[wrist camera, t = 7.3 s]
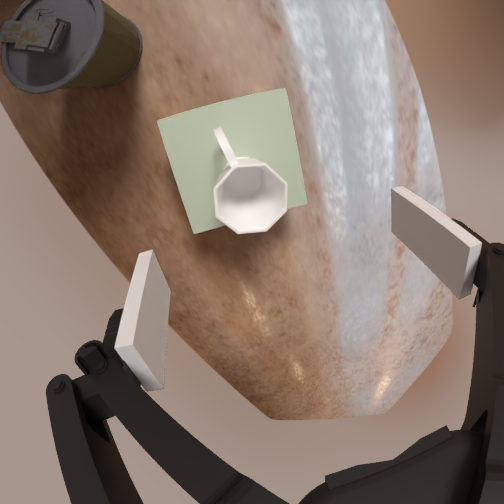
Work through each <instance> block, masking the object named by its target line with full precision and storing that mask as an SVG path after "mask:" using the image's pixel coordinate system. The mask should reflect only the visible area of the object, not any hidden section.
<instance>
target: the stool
mask: <svg viewBox="0 0 504 504" xmlns="http://www.w3.org/2000/svg"><path fill="white" fill-rule="evenodd" d="M157 123H158V126H159V129H160V132H161V136H162V139H163V142H164V145H165V149H166V152H167V155H168V158H169V161H170V164H171V168H172V171H173V174H174V177H175V180H176V183H177V186H178V189H179V192H180V195H181V198H182V201H183V204H184V207H185V210H186V213H187V216H188V219H189V221H190V224H191V227H192V230H193V233H194V234H197V233H200V232H204V231H207V230H211V229H215V228H218V227H222V226H226V225H225V224H224V223H223V222H221V221H220V220H219V219H217V218H216V216H215V204H214V190H213V188H214V185H215V183H216V181H217V178H218V175H219V174H220V173H221V172H222V169H223V168H224V167H225V166H226V165H227V164H228V161H227V159H226V157H225V154H224V152H223V150H222V148H221V146H220V144H219V142H218V140H217V138H216V135H215V133H214V129H216V128H218V127H220V126H221V128H222V130H223V132H224V134H225V136H226V138H227V140H228V142H229V144H230V146H231V148H232V150H233V152H234V154H235V156H236V158H240V157H249V158H250V159H257V160H259V161H261V162H264V163H266V164H267V165H268V166H269V167H270V168H272V169H273V170H274V171H275V172H276V173H277V174H278V175H279V176H280V177H281V178H282V179H283V180H285V181H286V182H287V183H288V184H287V209H289V208H293V207H297V206H301V205H305V204H307V199H306V193H305V187H304V181H303V175H302V169H301V163H300V158H299V152H298V147H297V142H296V136H295V131H294V126H293V121H292V116H291V111H290V106H289V102H288V97H287V92H286V88H281V89H275V90H270V91H265V92H260V93H255V94H251V95H246V96H242V97H238V98H233V99H229V100H225V101H221V102H217V103H214V104H210V105H206V106H202V107H199V108H195V109H192V110H188V111H185V112H182V113H178V114H175V115H172V116H169V117H166V118H163V119H160V120H158V121H157Z"/></svg>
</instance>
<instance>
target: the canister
mask: <svg viewBox="0 0 504 504" xmlns="http://www.w3.org/2000/svg"><path fill="white" fill-rule="evenodd" d="M0 42H2V47H1V61H2V65H3V69H4V72H5V75H6V77H7V78H8V79H9V81H10V82H11V83H12V84H13V85H14V86H15V87H17V88H18V89H20V90H22V91H25V92H28V93H31V94H42V93H48V92H51V91H55V90H57V89H65V88H78V87H94V88H102V87H108V86H111V85H114V84H116V83H118V82H120V81H121V80H123V79H124V78H126V77H127V76H128V75H129V74H130V73H131V72H132V70H133V69H134V68H135V66H136V65H137V63H138V60H139V58H140V55H141V52H142V37H141V34H140V31H139V30H138V28H137V27H136V25H135V24H134V23H133V22H131V21H130V20H129V19H127V18H125V17H123V16H122V15H120V14H119V13H118V12H117V11H115V10H114V9H113V8H111V7H110V6H109V5H108V4H106V3H105V2H104V1H102V0H26V1H25V2H24V3H23V4H22V5H21V6H20V7H19V9H18V10H17V11H16V12H15V14H14V15H13V17H12V18H11V20H5V22H4V24H3V27H2V29H1V32H0Z"/></svg>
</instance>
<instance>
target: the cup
mask: <svg viewBox="0 0 504 504" xmlns="http://www.w3.org/2000/svg"><path fill="white" fill-rule="evenodd" d="M214 133H215V135H216V138H217V140H218V142H219V144H220V146H221V148H222V150H223V152H224V154H225V157H226V159H227V161H228V164H227V165H226V166H225V167H224V168H223V169H222V172H221V173H220V174H219V175H218V178H217V181H216V183H215V185H214V188H213V190H214V204H215V216H216V218H217V219H219V220H220V221H221V222H223V223H224V224H225V225H227V226H228V227H229V228H230V229H232V230H233V231H234V232H236V233H237V234H245V233H256V232H267V231H268V230H269V229H270V228H271V227H272V226H273V225H274V224H275V223H276V222H277V221H278V220H279V219H280V218H281V217H282V216H283V215H284V214H285V213H286V212H287V184H288V183H287V182H286V181H285V180H283V179H282V178H281V177H280V176H279V175H278V174H277V173H276V172H275V171H274V170H273V169H272V168H270V167H269V166H268V165H267V164H266V163H264V162H261V161H259V160H257V159H250V158H249V157H240V158H236V156H235V154H234V152H233V150H232V148H231V146H230V144H229V142H228V140H227V138H226V136H225V134H224V132H223V130H222V128H221V126H220V127H218V128H216V129H214Z"/></svg>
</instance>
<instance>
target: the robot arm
mask: <svg viewBox="0 0 504 504" xmlns="http://www.w3.org/2000/svg"><path fill="white" fill-rule="evenodd" d="M391 204H392V230H391V232H392V233H393V234H394V235H396V236H397V237H398V238H399V239H400V240H401V241H402V242H403V243H404V244H405V245H406V246H407V247H408V248H409V249H410V250H411V251H412V252H413V253H414V254H415V255H416V256H417V257H418V258H419V259H420V260H421V261H422V262H423V263H424V264H425V265H426V266H427V267H428V268H429V269H430V270H431V271H432V272H433V273H434V274H435V275H436V276H437V277H438V278H439V279H440V280H441V281H442V282H443V283H444V284H445V285H446V286H447V287H448V288H449V289H450V290H451V292H452V293H453V294H454V295H455V296H456V297H457V298H458V299H461V298H463V297H466V296H468V295H470V294H471V290H472V286H473V283H474V284H475V285H476V286H477V287H478V290H477V294H476V297H475V301H474V304H473V307H475V305H476V335H475V349H474V361H473V371H472V379H471V387H470V394H469V400H468V406H467V412H466V417H465V420H464V423H463V425H462V428H461V430H454V431H449V429H448V427H447V426H444V427H442V428H440V429H438V430H437V431H435V432H433V433H431V434H429V435H427V436H425V437H423V438H421V439H419V440H418V441H417V442H416V443H415V444H413V445H412V446H411V447H409V448H408V449H407V450H406V451H404V452H403V453H402V454H400V455H399V456H398V457H396V458H395V459H393V460H389V461H383V462H376V463H370V464H362V465H357V466H354V467H351V468H348V469H345V470H342V471H339V472H336V473H333V474H329V475H326V476H325V483H322V484H321V485H319V486H317V487H316V488H315V489H313V490H312V491H311V492H309V493H308V494H307V495H306V496H305V497H304V498H303V499H302V500H301V501H300V503H299V504H504V244H501V243H491V244H490V243H488V242H487V241H486V240H484V239H483V238H482V237H481V236H479V235H478V234H477V233H475V232H473V231H472V230H471V229H470V228H468V227H467V226H466V225H465V224H463V223H462V222H460V221H457V220H455V219H453V218H452V219H450V218H448V217H447V216H446V215H445V214H443V213H442V212H440V211H439V210H438V209H436V208H435V207H433V206H432V205H430V204H429V203H427V202H426V201H424V200H423V199H421V198H420V197H418V196H417V195H415V194H414V193H412V192H411V191H409V190H408V189H406V188H405V187H403V186H400V187H395V188H391ZM170 294H171V291H170V288H169V286H168V284H167V282H166V279H165V277H164V275H163V273H162V270H161V268H160V266H159V263H158V261H157V259H156V256H155V254H154V252H153V250H149V251H146V252H142V253H139V256H138V259H137V263H136V266H135V269H134V273H133V276H132V280H131V283H130V288H129V291H128V294H127V298H126V302H125V306H124V308H123V309H118V310H115V311H114V313H113V314H112V316H111V317H110V318H109V322H108V325H107V329H106V332H105V336H104V340H103V343H102V342H100V341H98V340H97V341H96V340H93V341H89V342H87V343H85V344H84V345H82V346H81V347H80V348H79V349H78V351H77V353H76V355H75V363H76V364H77V366H78V367H79V368H80V369H81V370H82V372H83V373H84V374H85V375H83V376H81V377H79V378H76V379H74V380H72V379H71V378H70V377H69V376H68V375H66V374H60V375H58V376H56V377H54V378H53V379H52V380H51V381H50V382H49V384H48V386H47V388H46V396H47V404H48V410H49V416H50V421H51V427H52V432H53V437H54V442H55V446H56V451H57V455H58V459H59V462H60V466H61V471H62V474H63V478H64V481H65V485H66V488H67V491H68V494H69V497H70V501H71V503H72V504H143V502H142V500H141V498H140V496H139V494H138V492H137V490H136V488H135V486H134V484H133V482H132V480H131V478H130V476H129V474H128V471H127V469H126V467H125V465H124V462H123V460H122V458H121V456H120V453H119V451H118V448H117V446H116V443H115V441H114V439H113V436H112V434H111V431H110V428H109V426H108V423H107V420H106V419H108V418H111V417H113V416H116V417H117V418H118V419H119V420H120V421H121V423H122V424H123V425H124V426H125V428H126V429H127V430H128V431H129V432H130V433H131V435H132V436H133V437H134V438H135V439H136V440H137V442H139V444H140V445H141V446H142V447H143V448H144V449H145V451H146V452H147V453H148V454H149V455H150V456H151V457H152V458H153V459H154V460H155V461H156V462H157V463H158V464H159V465H160V466H161V467H162V469H164V470H165V471H166V473H167V474H168V475H169V476H171V478H173V479H174V480H175V481H176V482H177V483H178V484H179V485H180V486H181V487H182V488H183V489H184V490H185V491H186V492H187V493H188V494H190V495H191V496H192V497H193V498H194V499H195V500H196V501H197V502H198V503H200V504H289V503H287V502H286V501H284V500H283V499H281V498H279V497H278V496H276V495H275V494H273V493H271V492H270V491H268V490H267V489H265V488H264V487H262V486H261V485H259V484H258V483H256V482H255V481H253V480H252V479H250V478H249V477H247V476H245V475H243V474H241V473H239V472H238V471H236V470H235V469H234V468H232V467H231V466H230V465H228V464H227V463H226V462H225V461H223V460H222V459H221V458H219V457H218V456H217V455H216V454H214V453H213V452H212V451H210V450H209V449H208V448H207V447H205V446H204V445H203V444H202V443H201V442H199V441H198V440H197V439H196V438H195V437H193V436H192V435H191V434H190V433H189V432H188V431H186V430H185V429H184V428H183V427H182V426H181V425H180V424H179V423H177V422H176V421H175V420H174V419H173V418H172V417H171V416H170V415H169V414H168V413H166V412H165V411H164V410H163V409H162V408H161V407H160V406H159V405H158V404H157V403H156V402H155V401H154V400H153V399H152V398H151V397H150V396H149V395H148V394H147V393H146V392H145V391H144V390H143V389H142V388H141V387H140V386H141V385H142V386H143V387H144V388H145V390H146V391H154V390H161V389H164V374H165V373H164V372H165V356H166V341H167V328H168V316H169V304H170Z"/></svg>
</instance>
